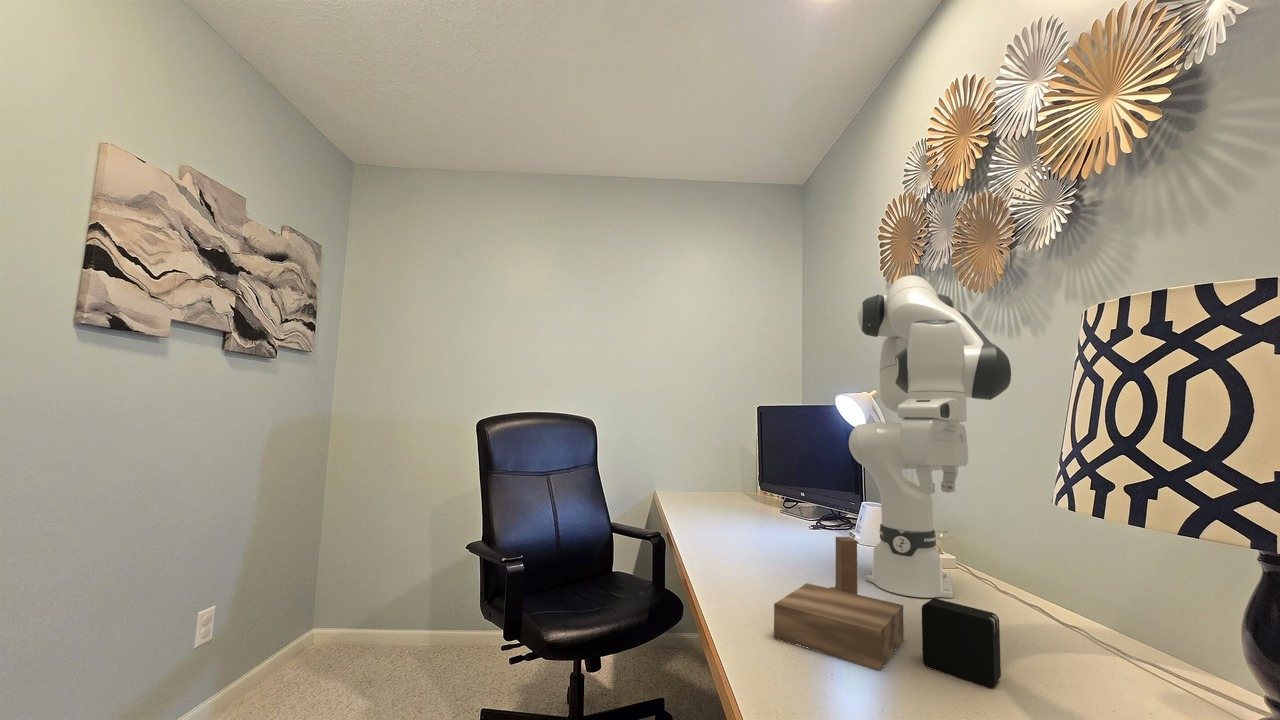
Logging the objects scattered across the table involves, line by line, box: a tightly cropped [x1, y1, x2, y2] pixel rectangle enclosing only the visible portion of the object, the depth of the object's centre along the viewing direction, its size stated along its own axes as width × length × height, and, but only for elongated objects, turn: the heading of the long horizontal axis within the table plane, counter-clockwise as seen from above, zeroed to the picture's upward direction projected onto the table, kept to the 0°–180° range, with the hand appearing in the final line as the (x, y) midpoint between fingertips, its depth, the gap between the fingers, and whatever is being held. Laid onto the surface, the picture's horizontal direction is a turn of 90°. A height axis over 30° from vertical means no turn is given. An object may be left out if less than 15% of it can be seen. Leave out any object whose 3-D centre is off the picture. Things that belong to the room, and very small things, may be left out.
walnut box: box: [773, 582, 905, 672], centre depth 97 cm, size 16×18×6 cm
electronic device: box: [921, 598, 1002, 689], centre depth 85 cm, size 4×10×10 cm, turn 45°
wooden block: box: [829, 536, 858, 595], centre depth 112 cm, size 7×3×15 cm, turn 3°
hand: (938, 493), depth 90 cm, fingers open, 8 cm apart
